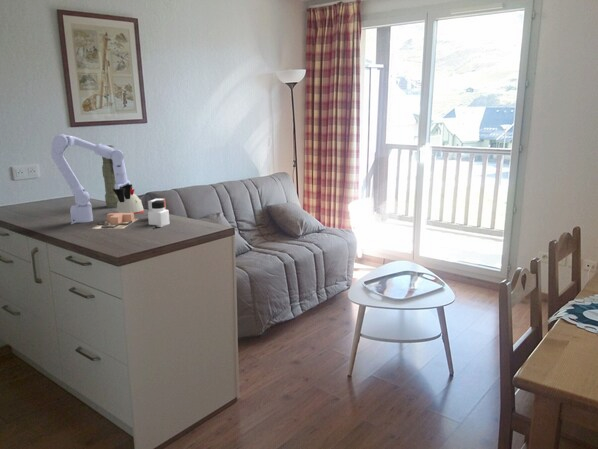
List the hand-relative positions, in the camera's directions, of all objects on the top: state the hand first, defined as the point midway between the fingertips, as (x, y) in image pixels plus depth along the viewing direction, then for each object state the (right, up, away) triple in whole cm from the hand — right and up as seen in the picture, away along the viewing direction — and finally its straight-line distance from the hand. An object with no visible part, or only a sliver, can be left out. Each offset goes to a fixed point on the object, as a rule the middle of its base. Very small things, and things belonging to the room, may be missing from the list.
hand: (125, 200), depth 239 cm
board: (-1, -13, -10) cm, 16 cm away
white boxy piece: (+17, -10, 0) cm, 20 cm away
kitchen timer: (-3, -6, +17) cm, 18 cm away
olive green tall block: (-20, -2, +37) cm, 42 cm away
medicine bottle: (+20, -13, -11) cm, 26 cm away
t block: (0, -11, -7) cm, 13 cm away
